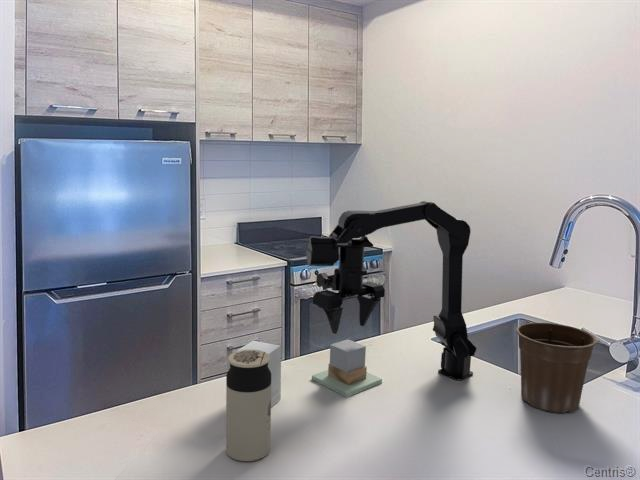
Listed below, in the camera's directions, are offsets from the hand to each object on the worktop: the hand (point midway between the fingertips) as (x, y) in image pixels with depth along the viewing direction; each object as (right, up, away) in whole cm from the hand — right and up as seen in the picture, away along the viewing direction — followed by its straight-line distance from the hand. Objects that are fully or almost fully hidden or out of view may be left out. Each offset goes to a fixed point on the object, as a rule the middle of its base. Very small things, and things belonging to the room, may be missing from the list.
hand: (348, 329), depth 123 cm
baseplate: (0, -13, +2) cm, 13 cm away
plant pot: (+45, -16, -5) cm, 48 cm away
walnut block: (0, -12, +2) cm, 12 cm away
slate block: (0, -9, +1) cm, 9 cm away
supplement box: (-20, -14, -10) cm, 27 cm away
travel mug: (-20, -17, -28) cm, 39 cm away
